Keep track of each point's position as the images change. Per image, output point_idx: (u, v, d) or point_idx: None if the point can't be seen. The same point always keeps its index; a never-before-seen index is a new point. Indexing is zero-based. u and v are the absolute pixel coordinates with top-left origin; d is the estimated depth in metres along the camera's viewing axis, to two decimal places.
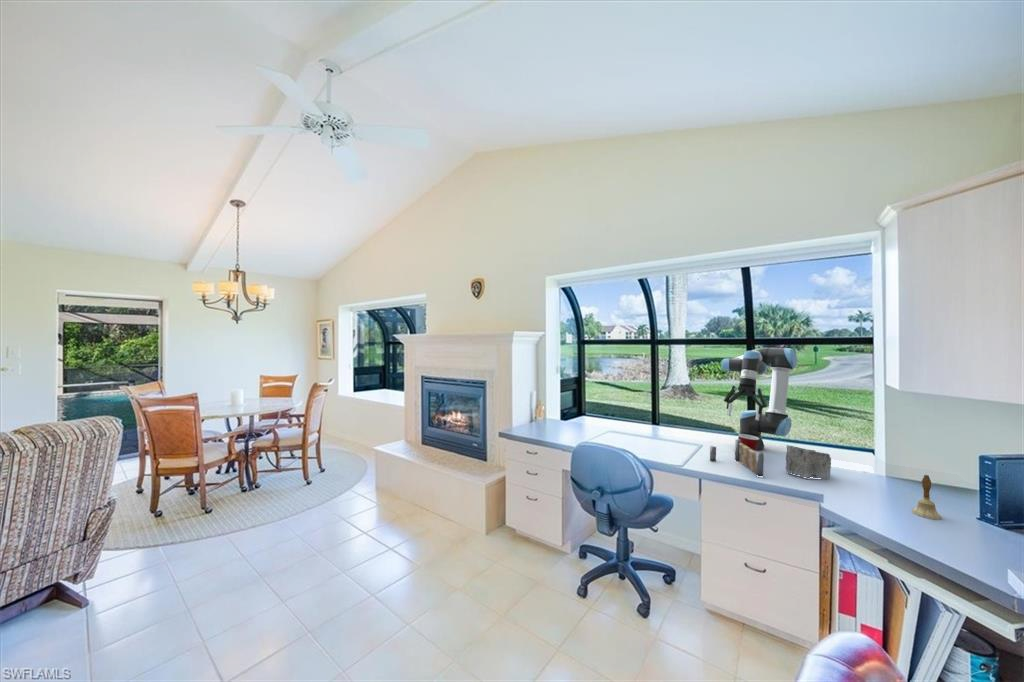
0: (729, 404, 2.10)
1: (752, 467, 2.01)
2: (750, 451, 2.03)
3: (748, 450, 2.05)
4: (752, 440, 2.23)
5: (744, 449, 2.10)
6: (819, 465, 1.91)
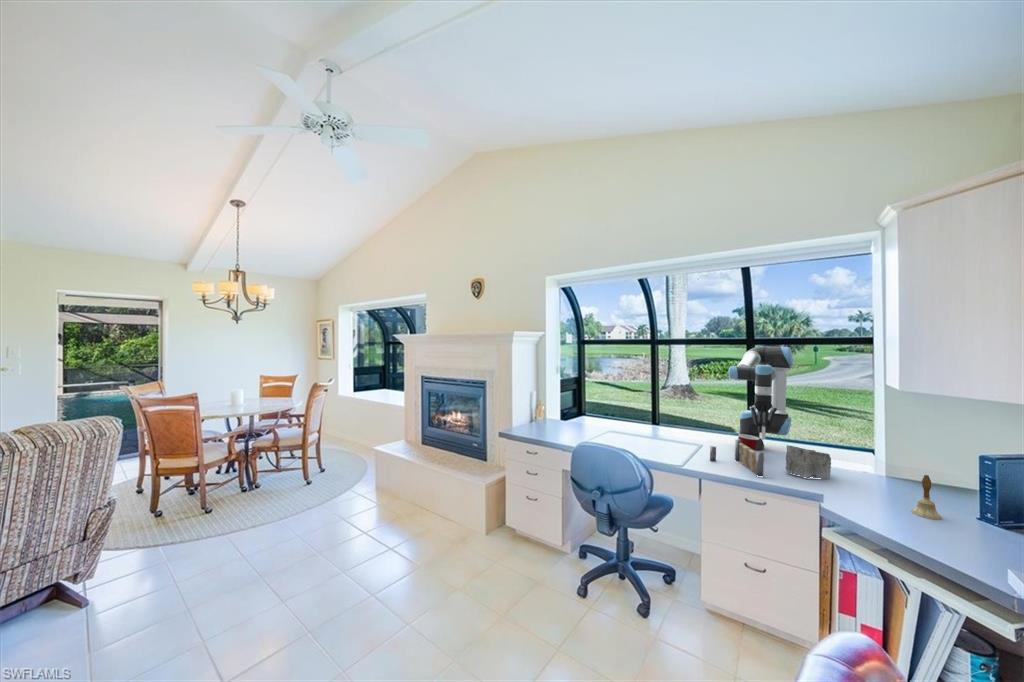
0: (763, 428, 2.02)
1: (752, 467, 2.01)
2: (750, 451, 2.03)
3: (748, 450, 2.05)
4: (752, 440, 2.23)
5: (744, 449, 2.10)
6: (819, 465, 1.91)
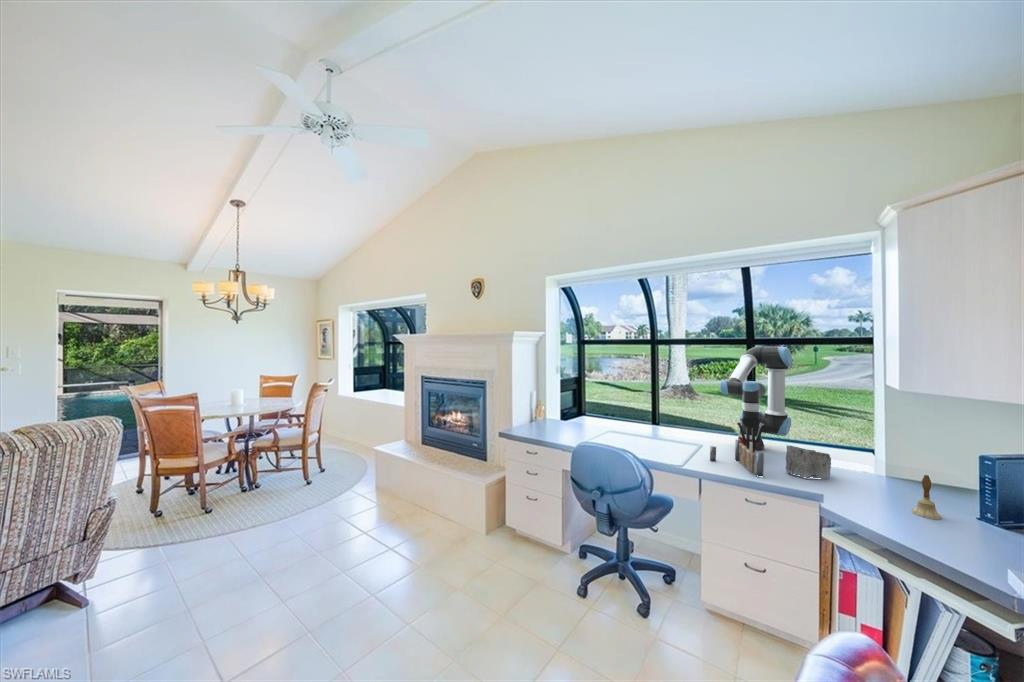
0: (750, 444, 2.04)
1: (748, 467, 2.01)
2: (747, 451, 2.04)
3: (745, 450, 2.06)
4: None
5: (742, 449, 2.10)
6: (819, 465, 1.91)
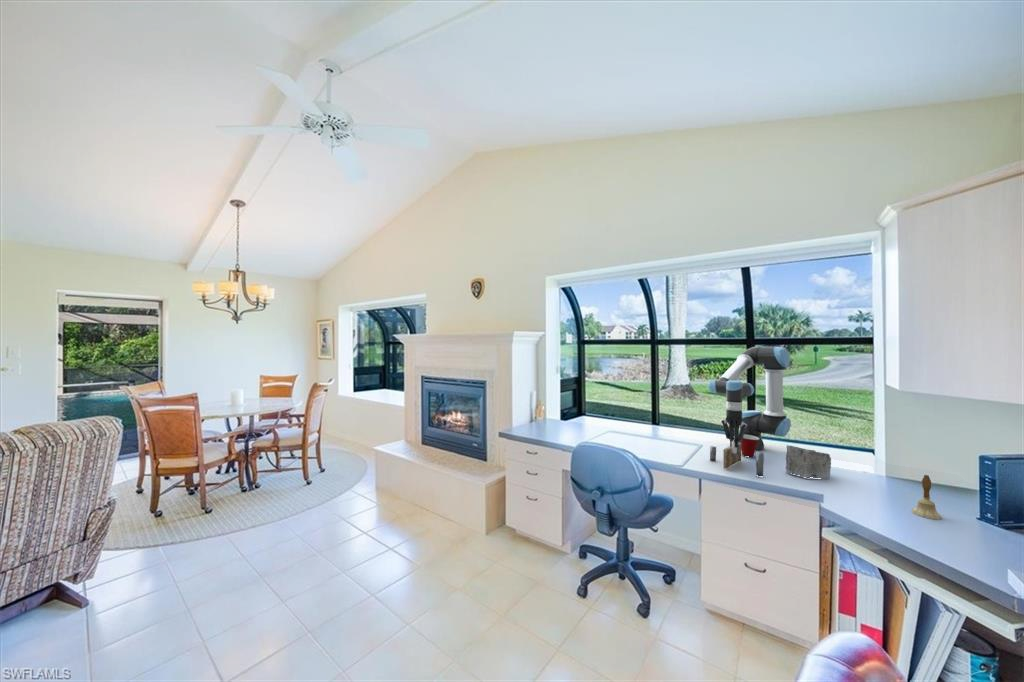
0: (732, 442, 2.08)
1: None
2: None
3: None
4: (752, 440, 2.23)
5: None
6: (819, 465, 1.91)
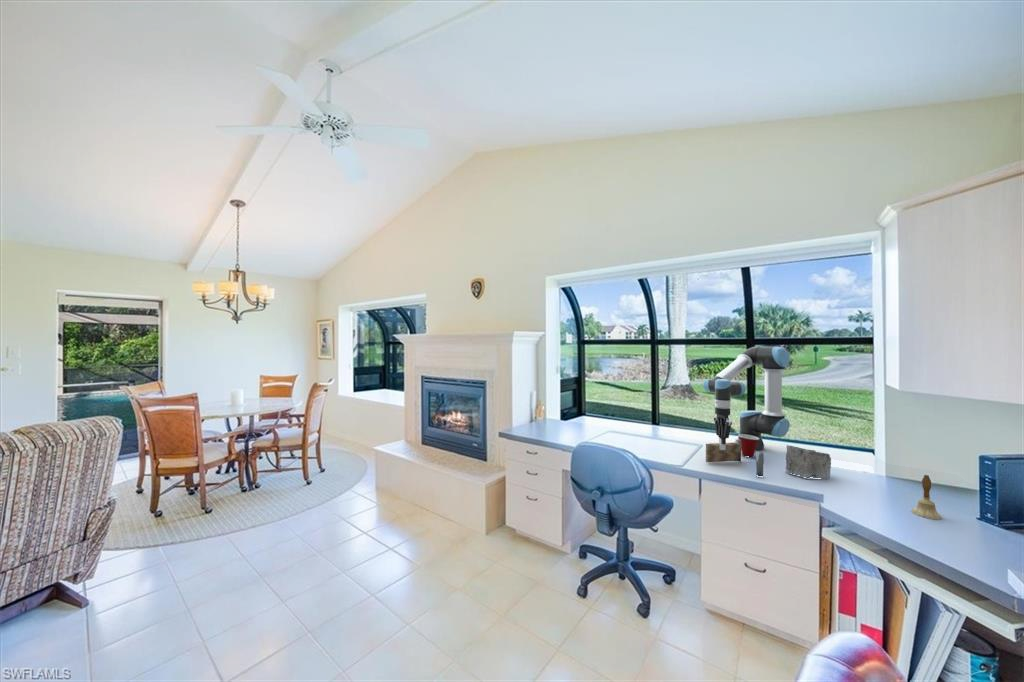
0: (719, 439, 2.14)
1: None
2: None
3: None
4: (752, 440, 2.23)
5: None
6: (819, 465, 1.91)
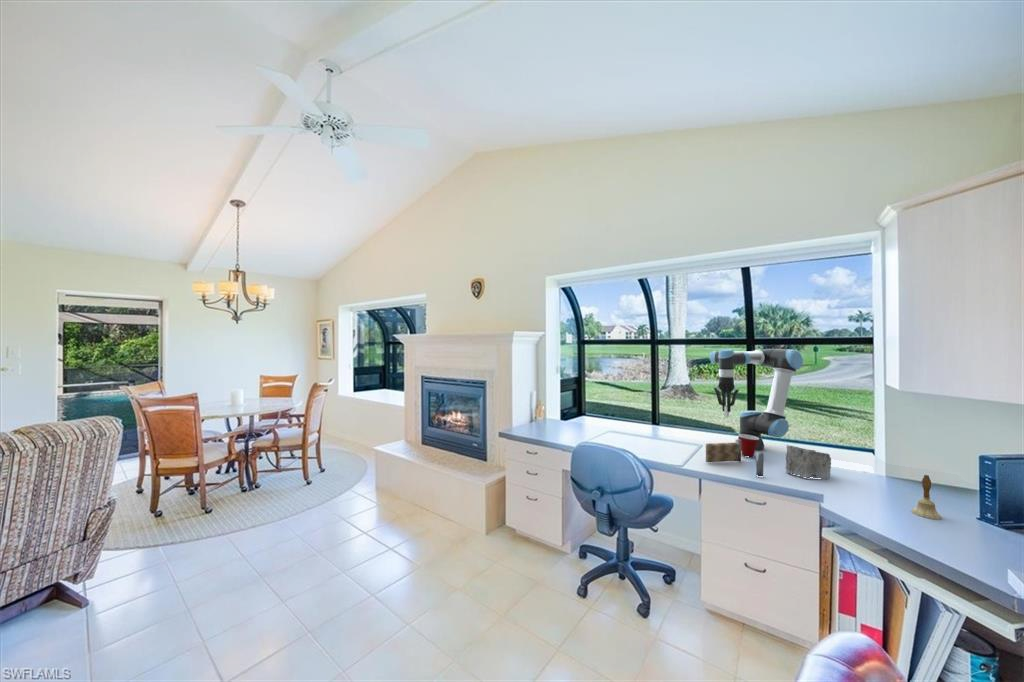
0: (724, 407, 2.20)
1: None
2: None
3: None
4: (752, 440, 2.23)
5: None
6: (819, 465, 1.91)
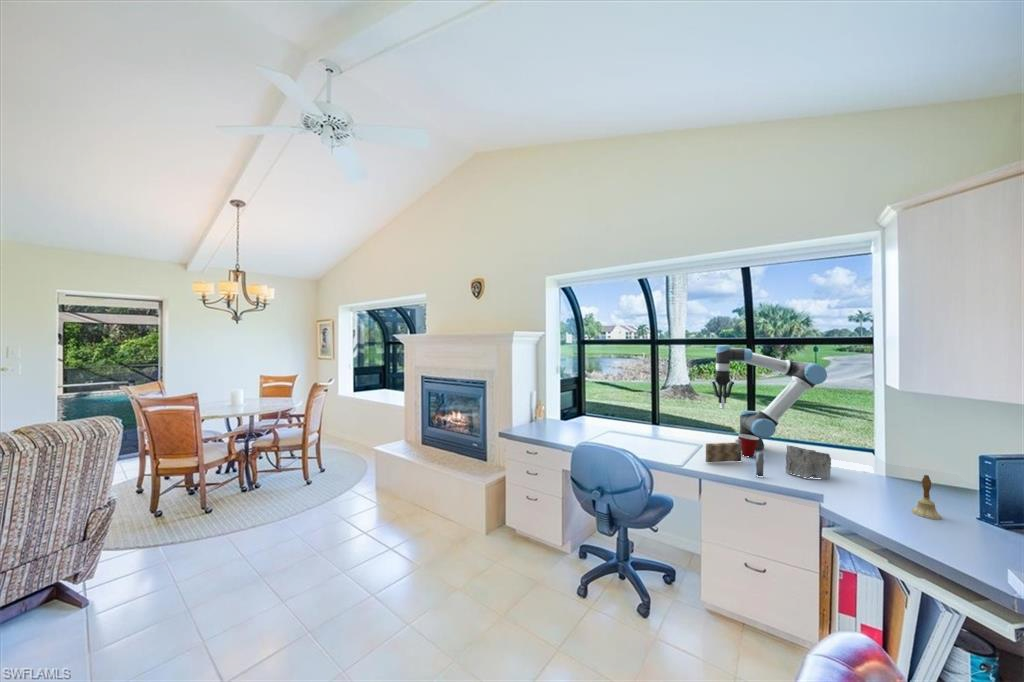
0: (722, 399, 2.35)
1: None
2: None
3: None
4: (752, 440, 2.23)
5: None
6: (819, 465, 1.91)
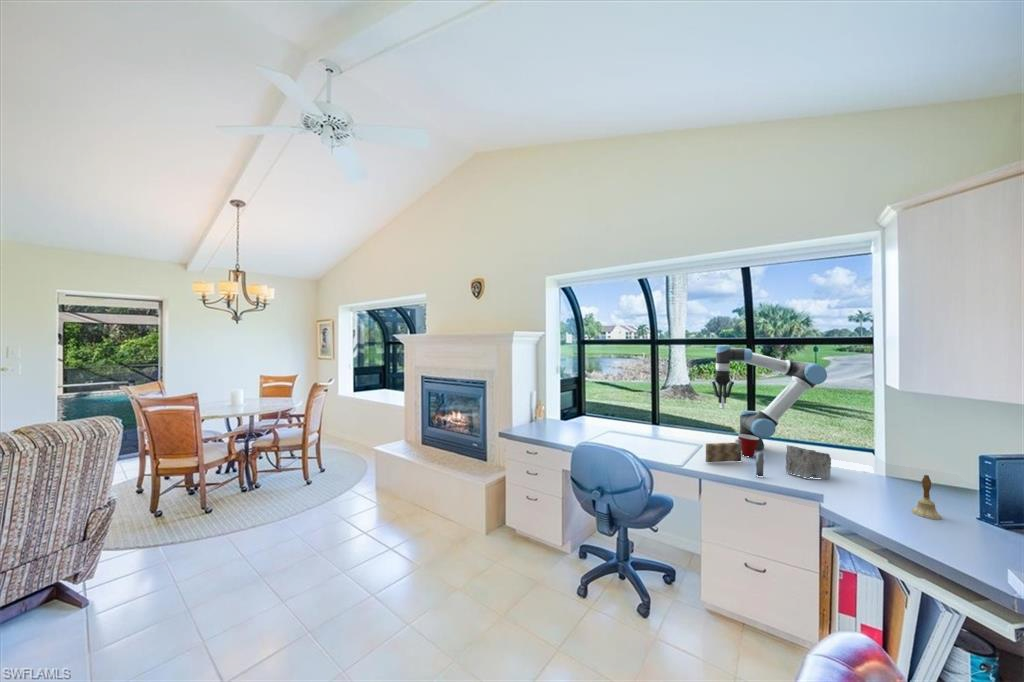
0: (722, 399, 2.35)
1: None
2: None
3: None
4: (752, 440, 2.23)
5: None
6: (819, 465, 1.91)
